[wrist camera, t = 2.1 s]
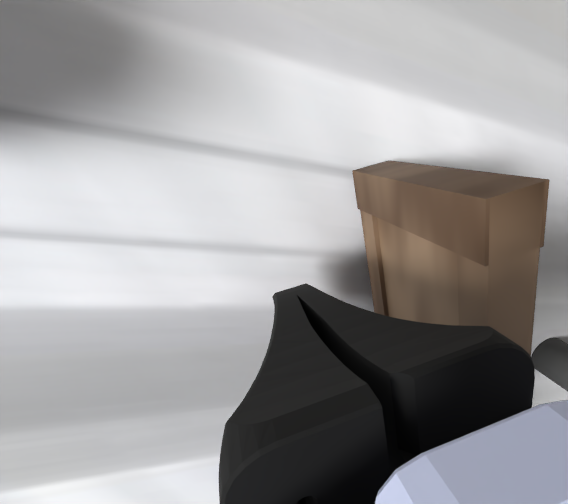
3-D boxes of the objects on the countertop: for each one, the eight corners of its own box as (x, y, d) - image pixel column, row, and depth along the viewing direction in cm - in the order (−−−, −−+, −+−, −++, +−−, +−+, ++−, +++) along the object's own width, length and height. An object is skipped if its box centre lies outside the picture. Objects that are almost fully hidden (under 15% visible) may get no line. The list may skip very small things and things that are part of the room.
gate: (413, 415, 18) (516, 550, 12) (388, 425, 18) (480, 567, 12) (388, 160, 13) (549, 179, 7) (352, 170, 13) (486, 198, 7)
